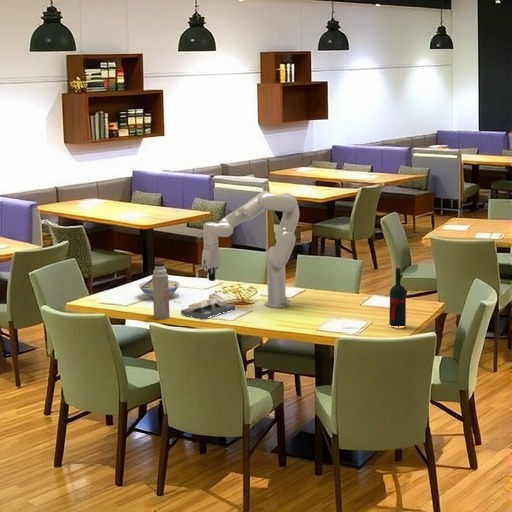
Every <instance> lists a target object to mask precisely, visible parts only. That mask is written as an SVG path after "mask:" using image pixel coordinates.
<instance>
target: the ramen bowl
mask: <svg viewBox="0 0 512 512" xmlns="http://www.w3.org/2000/svg"><path fill="white" fill-rule="evenodd" d="M180 284H181V283H180V282H179V281H177V280H173V279H168V287H169V296H171V295H173V294H175V292H176V291H177V290H178V288H179V287H180ZM138 287H139V289H140V290H141V291H142V293H143V294H145V295H146V296H148V297H151V298H153V282H152V278H151V279H149V280H146V281H143V282H140V283H139V284H138Z"/></svg>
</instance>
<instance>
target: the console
mask: <svg viewBox="0 0 512 512" xmlns="http://www.w3.org/2000/svg"><path fill="white" fill-rule="evenodd" d="M231 310H234V311H236V305H234V304H230V303H227V304H226V305H223V306H220V305H218V304H216V303H215V304H211V305H208V306H204V307H201V308H196V309H191V310H190V309H189V307H187V308H184V309H181V310H180V315H181V314H183V315H188V316H192V317H191V318H193V317H196V318H195V319H197V318H200V319H199V320H202V319H205V320H207V319H206V318H208V317H210V316H213V315H217V314H219V313H223V312H227V311H231ZM231 312H232V311H231ZM183 315H182V316H183ZM188 316H187V317H188ZM208 319H209V318H208Z"/></svg>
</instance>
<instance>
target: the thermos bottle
mask: <svg viewBox="0 0 512 512" xmlns="http://www.w3.org/2000/svg"><path fill="white" fill-rule="evenodd" d="M152 273H153V274H151V275H152V277H151V279H152V282H153V297H152V301H153V306H152V307H153V319H156V320H166V319H169V318H170V314H171V313H170V295H169V287H168V280H169V273H167V269H166V268H165V263H164V262H163V263H162V262H158V263H157V262H156V263H154V269H153V271H152Z"/></svg>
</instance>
